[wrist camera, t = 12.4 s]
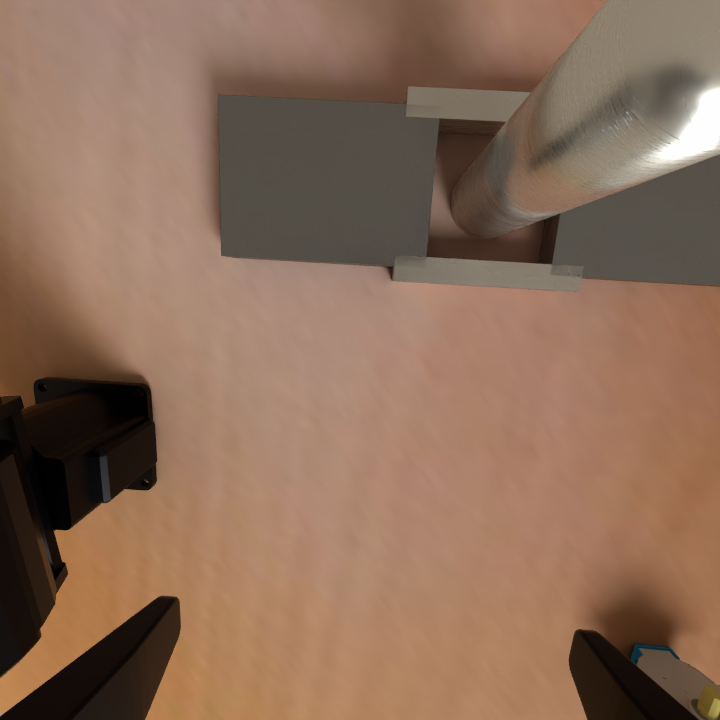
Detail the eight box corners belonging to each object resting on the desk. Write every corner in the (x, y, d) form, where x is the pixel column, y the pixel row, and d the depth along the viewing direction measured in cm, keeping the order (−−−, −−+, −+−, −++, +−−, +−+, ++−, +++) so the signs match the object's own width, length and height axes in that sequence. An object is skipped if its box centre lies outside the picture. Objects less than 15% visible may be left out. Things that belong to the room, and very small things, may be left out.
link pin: (438, 220, 19) (579, 86, 6) (471, 150, 18) (714, -175, 5) (500, 251, 19) (766, 184, 6) (536, 182, 18) (923, -56, 5)
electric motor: (712, 630, 23) (803, 723, 18) (691, 689, 24) (773, 792, 19) (603, 619, 23) (664, 709, 18) (587, 679, 24) (641, 778, 19)
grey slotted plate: (232, 271, 19) (221, 270, 18) (230, 93, 18) (217, 76, 16) (728, 301, 19) (757, 302, 17) (776, 121, 17) (813, 106, 16)
